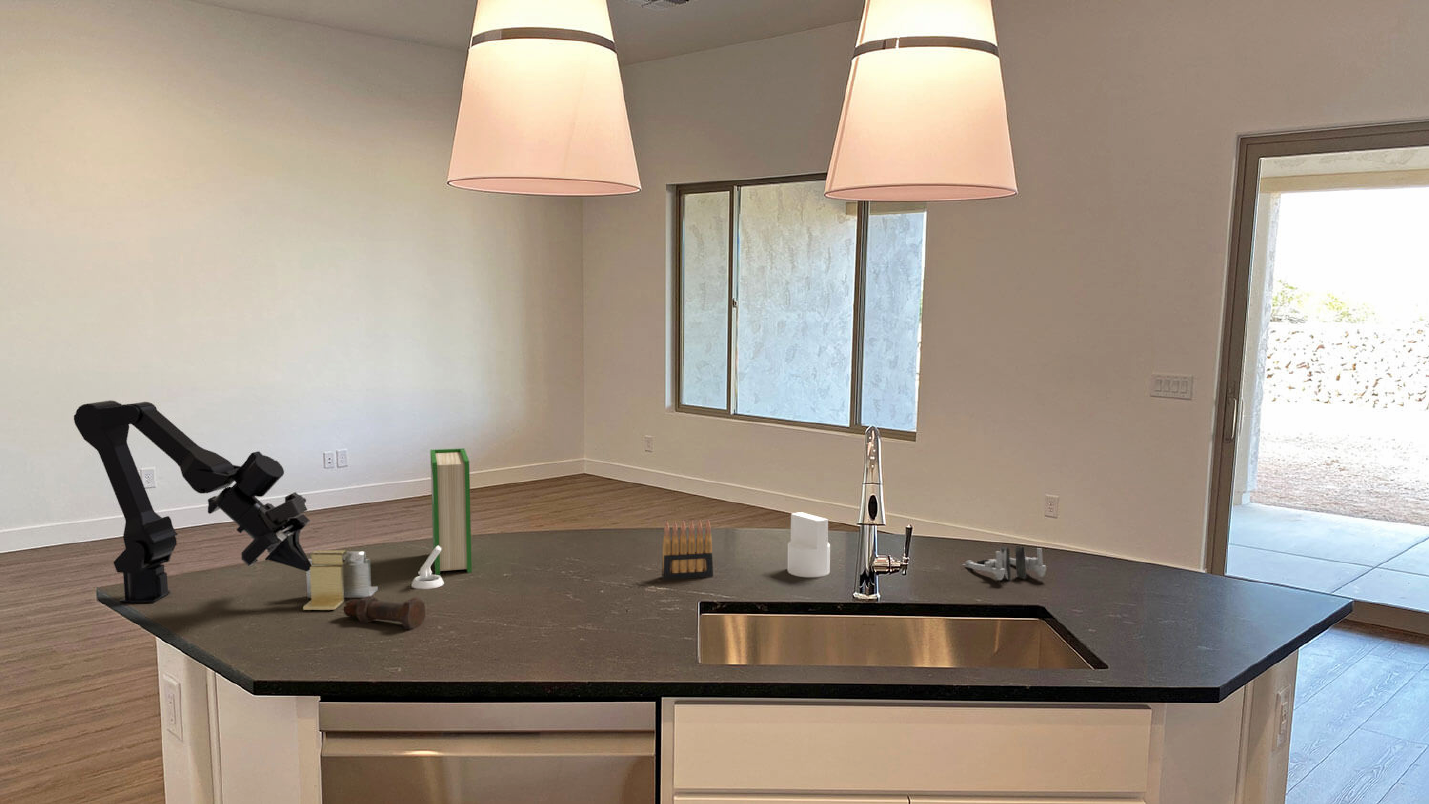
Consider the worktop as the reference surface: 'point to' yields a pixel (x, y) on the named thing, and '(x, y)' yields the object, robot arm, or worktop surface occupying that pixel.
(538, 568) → the worktop surface
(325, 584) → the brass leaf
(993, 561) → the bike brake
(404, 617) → the bolt
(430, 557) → the hook
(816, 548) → the cylinder with rectangular tab
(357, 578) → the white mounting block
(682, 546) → the ammunition clip
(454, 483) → the hardback book
